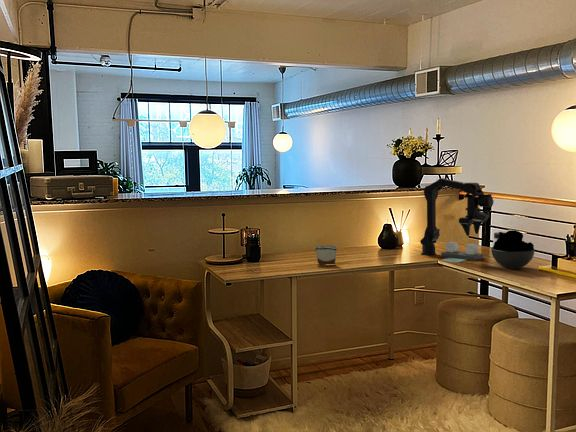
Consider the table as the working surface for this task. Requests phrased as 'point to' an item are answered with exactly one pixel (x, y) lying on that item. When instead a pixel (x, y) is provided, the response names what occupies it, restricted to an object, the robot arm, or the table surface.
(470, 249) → the block
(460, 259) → the mat
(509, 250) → the bowl of black rocks
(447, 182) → the robot arm
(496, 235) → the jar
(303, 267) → the table surface
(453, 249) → the block
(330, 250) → the food container
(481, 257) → the rail
